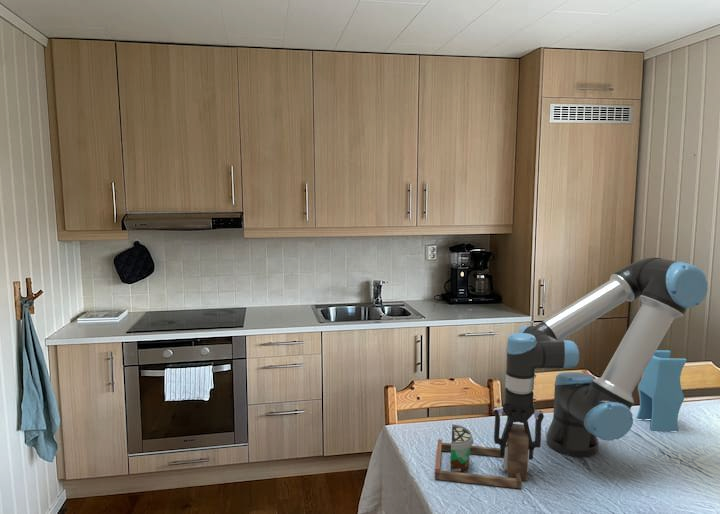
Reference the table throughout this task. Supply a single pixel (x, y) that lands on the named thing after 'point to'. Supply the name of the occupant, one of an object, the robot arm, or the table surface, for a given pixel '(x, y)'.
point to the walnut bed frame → (515, 458)
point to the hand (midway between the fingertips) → (515, 467)
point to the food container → (460, 448)
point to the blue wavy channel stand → (661, 391)
